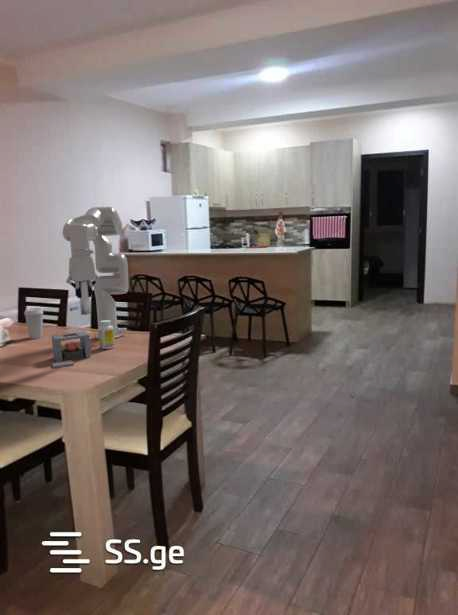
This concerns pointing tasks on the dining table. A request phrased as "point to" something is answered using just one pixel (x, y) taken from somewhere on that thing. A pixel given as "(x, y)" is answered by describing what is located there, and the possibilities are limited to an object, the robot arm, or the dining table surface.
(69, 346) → the button
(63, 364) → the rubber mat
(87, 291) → the silver metal cylinder
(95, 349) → the dining table surface
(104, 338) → the supplement bottle
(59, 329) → the dining table surface
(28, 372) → the dining table surface
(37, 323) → the coffee cup
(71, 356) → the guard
